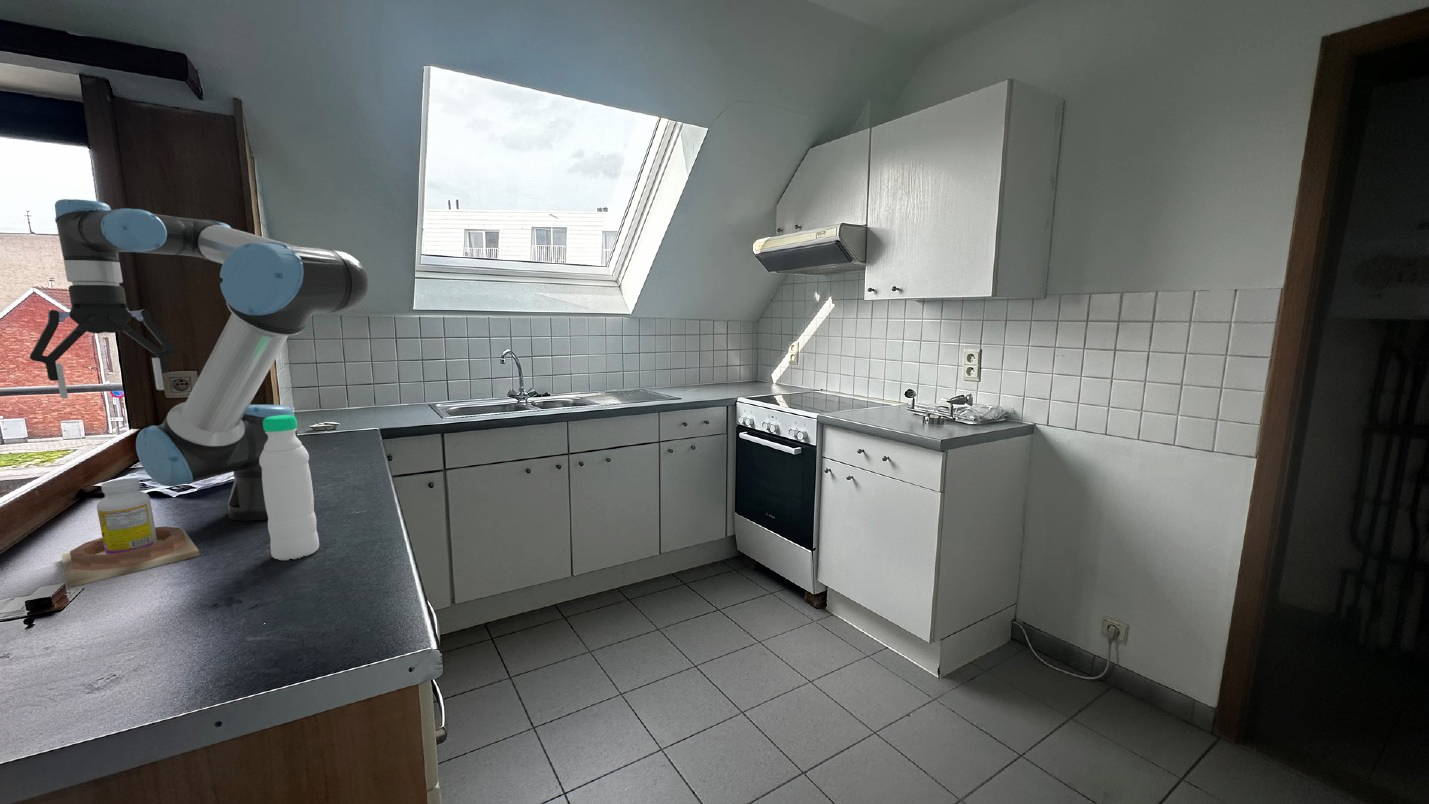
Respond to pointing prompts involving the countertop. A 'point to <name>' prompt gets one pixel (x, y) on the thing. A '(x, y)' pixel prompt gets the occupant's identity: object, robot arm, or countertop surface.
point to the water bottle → (287, 490)
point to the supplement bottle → (125, 517)
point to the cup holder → (126, 557)
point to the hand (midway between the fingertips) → (114, 393)
